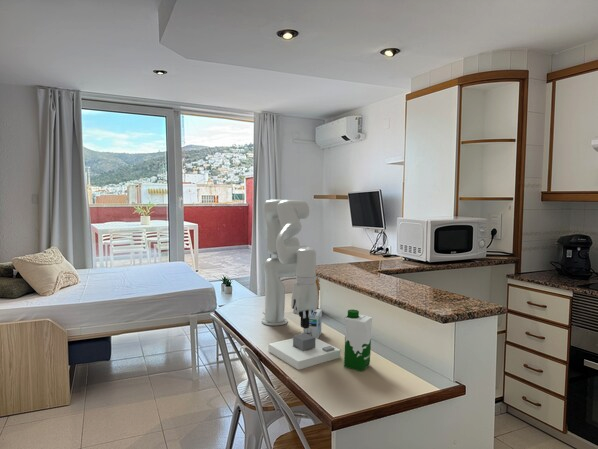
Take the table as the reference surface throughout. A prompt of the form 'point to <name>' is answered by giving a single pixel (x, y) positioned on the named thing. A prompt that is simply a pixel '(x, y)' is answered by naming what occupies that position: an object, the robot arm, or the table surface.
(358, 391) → the table surface
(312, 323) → the light bulb box
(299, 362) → the socket
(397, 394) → the table surface
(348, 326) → the milk carton
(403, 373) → the table surface
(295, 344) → the plug
